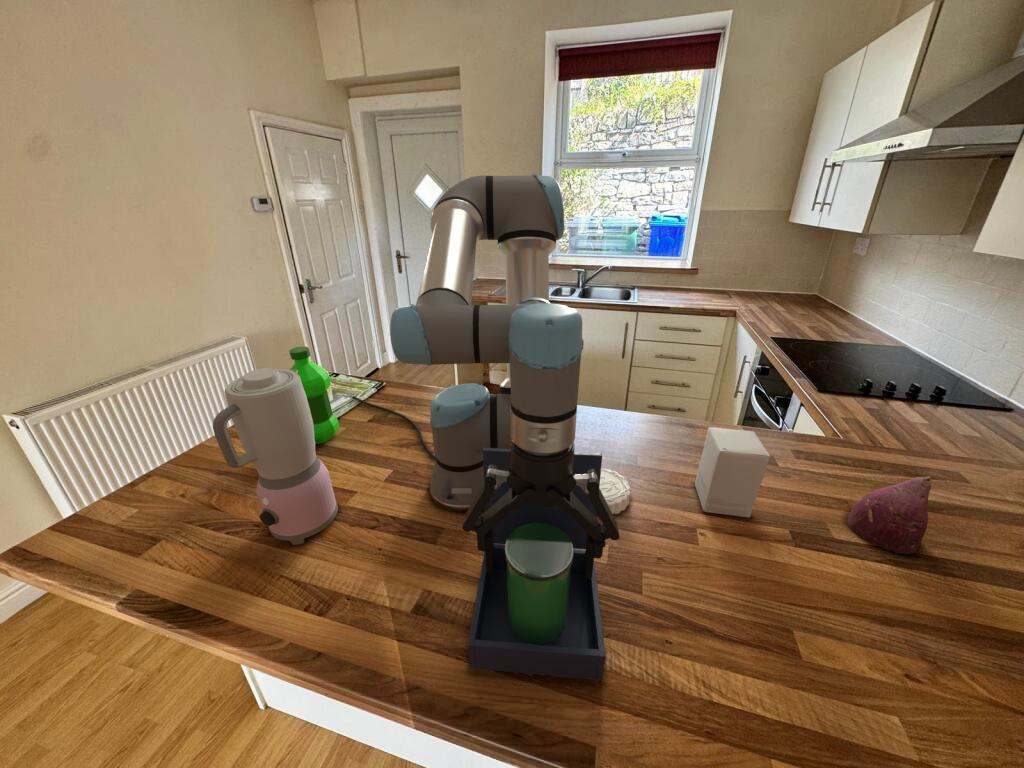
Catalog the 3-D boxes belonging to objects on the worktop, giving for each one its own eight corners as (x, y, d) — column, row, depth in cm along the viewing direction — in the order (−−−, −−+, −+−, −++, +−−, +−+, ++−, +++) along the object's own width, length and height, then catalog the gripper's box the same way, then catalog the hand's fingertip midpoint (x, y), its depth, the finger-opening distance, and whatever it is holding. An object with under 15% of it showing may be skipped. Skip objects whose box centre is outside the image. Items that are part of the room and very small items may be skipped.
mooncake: (631, 520, 79) (634, 506, 77) (570, 512, 81) (571, 498, 79) (626, 480, 90) (628, 467, 88) (572, 475, 91) (573, 462, 90)
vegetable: (891, 532, 80) (942, 472, 74) (922, 568, 70) (983, 503, 65) (834, 509, 82) (880, 449, 76) (857, 541, 73) (911, 476, 67)
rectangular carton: (751, 519, 79) (772, 456, 72) (702, 512, 81) (719, 451, 74) (737, 488, 87) (755, 430, 80) (693, 483, 89) (708, 425, 82)
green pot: (496, 600, 63) (493, 535, 57) (548, 578, 66) (551, 514, 60) (523, 657, 55) (523, 588, 49) (580, 628, 59) (587, 561, 52)
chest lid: (602, 455, 58) (601, 452, 59) (483, 450, 60) (483, 447, 61) (593, 550, 65) (592, 546, 65) (485, 543, 66) (486, 539, 67)
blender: (307, 493, 86) (267, 355, 72) (352, 507, 82) (319, 364, 68) (239, 548, 73) (173, 392, 59) (288, 568, 69) (230, 407, 55)
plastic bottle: (291, 441, 105) (265, 352, 94) (328, 423, 112) (308, 339, 101) (313, 454, 99) (288, 361, 88) (350, 434, 107) (331, 347, 96)
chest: (601, 683, 53) (605, 656, 50) (470, 671, 54) (467, 645, 52) (590, 574, 68) (593, 550, 65) (487, 567, 69) (486, 543, 67)
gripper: (429, 453, 44) (444, 585, 53) (659, 463, 42) (634, 598, 51) (445, 419, 51) (456, 541, 60) (644, 426, 49) (624, 552, 58)
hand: (538, 568), depth 56 cm, fingers open, 13 cm apart
